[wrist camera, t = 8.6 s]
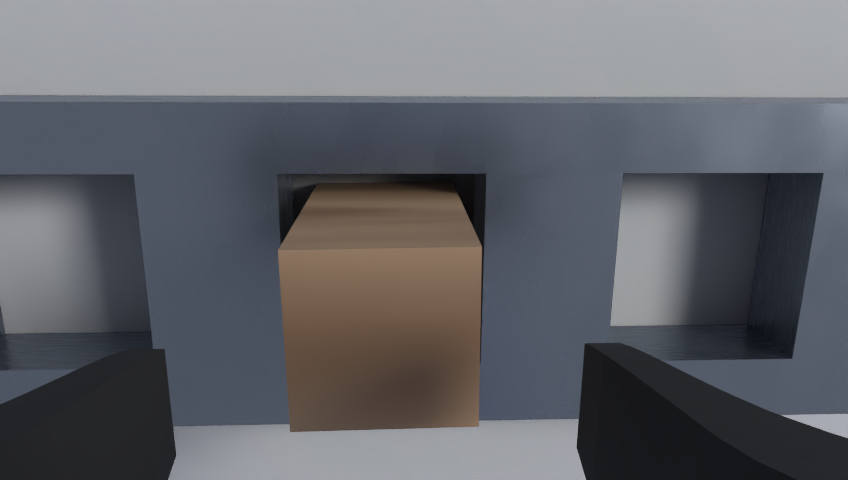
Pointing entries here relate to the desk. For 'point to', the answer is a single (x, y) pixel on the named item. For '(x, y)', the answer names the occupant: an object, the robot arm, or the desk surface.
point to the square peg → (381, 308)
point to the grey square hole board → (493, 223)
